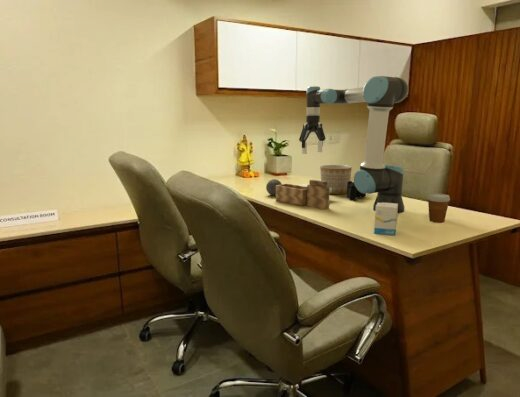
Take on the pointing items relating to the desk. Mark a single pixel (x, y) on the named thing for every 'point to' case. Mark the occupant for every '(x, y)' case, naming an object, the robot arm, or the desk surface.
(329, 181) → the planter
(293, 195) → the brown zigzag organizer box
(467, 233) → the desk surface
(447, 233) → the desk surface
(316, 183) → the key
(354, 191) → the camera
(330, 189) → the lid
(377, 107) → the robot arm
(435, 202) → the disposable coffee cup
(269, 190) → the decorative ball
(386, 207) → the ink box
